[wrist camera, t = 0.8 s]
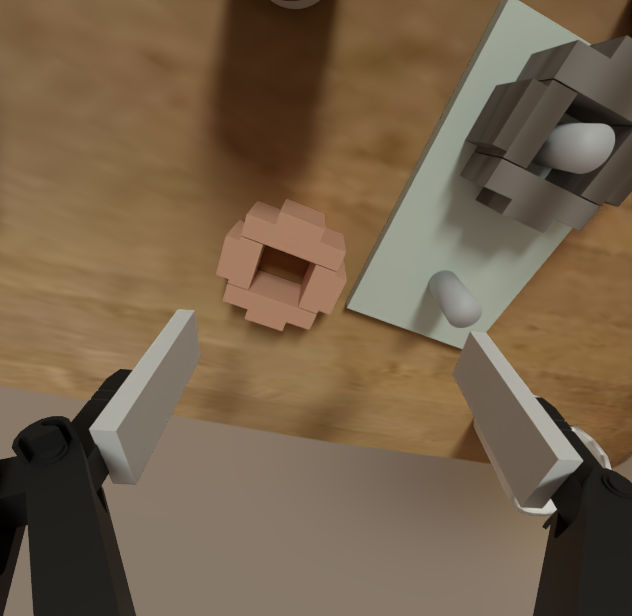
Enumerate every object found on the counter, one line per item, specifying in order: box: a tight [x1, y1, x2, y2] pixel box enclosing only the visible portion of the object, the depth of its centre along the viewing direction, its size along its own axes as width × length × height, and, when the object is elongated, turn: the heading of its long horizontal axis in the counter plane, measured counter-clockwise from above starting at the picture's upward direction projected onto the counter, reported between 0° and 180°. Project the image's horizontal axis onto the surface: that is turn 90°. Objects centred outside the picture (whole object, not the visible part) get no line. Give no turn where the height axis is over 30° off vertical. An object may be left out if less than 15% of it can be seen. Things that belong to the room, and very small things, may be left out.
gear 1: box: [216, 198, 347, 331], centre depth 31 cm, size 11×11×5 cm
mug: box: [473, 395, 611, 516], centre depth 41 cm, size 14×10×11 cm
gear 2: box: [460, 35, 632, 233], centre depth 24 cm, size 11×11×5 cm
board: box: [346, 0, 615, 349], centre depth 28 cm, size 16×27×8 cm, turn 158°
